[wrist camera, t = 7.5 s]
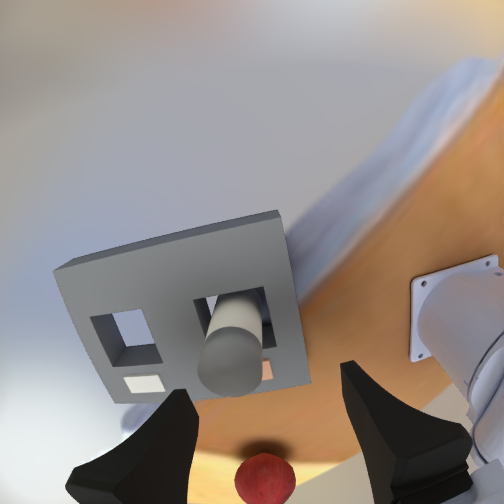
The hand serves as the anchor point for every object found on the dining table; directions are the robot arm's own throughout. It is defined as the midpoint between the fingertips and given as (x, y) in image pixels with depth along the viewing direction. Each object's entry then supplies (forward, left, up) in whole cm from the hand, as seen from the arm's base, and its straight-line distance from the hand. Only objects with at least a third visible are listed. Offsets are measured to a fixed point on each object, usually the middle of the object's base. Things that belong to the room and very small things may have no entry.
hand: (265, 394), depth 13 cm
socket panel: (+6, -1, -9) cm, 11 cm away
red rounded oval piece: (+3, +17, -10) cm, 20 cm away
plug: (+2, -1, -9) cm, 9 cm away
